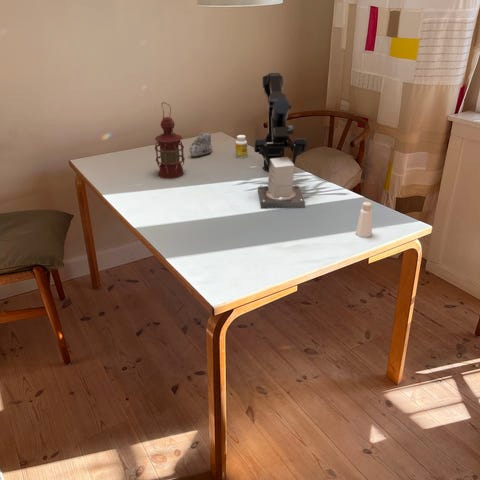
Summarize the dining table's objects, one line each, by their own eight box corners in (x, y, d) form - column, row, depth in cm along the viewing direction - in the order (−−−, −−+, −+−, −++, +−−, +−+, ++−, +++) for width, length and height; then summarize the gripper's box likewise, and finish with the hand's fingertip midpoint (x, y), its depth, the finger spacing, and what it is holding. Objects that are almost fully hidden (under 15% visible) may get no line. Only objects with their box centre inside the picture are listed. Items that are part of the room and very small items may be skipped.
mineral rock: (191, 159, 238) (189, 138, 233) (183, 152, 247) (182, 131, 242) (217, 155, 243) (216, 134, 238) (209, 149, 251) (208, 128, 247)
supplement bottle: (240, 153, 244) (239, 133, 240) (249, 155, 241) (249, 135, 237) (233, 156, 240) (233, 136, 236) (242, 159, 238) (242, 138, 233)
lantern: (190, 175, 220) (186, 103, 206) (165, 181, 214) (158, 108, 200) (177, 167, 229) (172, 97, 215) (151, 172, 223) (145, 102, 209)
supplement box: (285, 186, 199) (288, 156, 192) (292, 196, 193) (295, 165, 186) (267, 188, 198) (269, 158, 191) (273, 198, 192) (275, 166, 185)
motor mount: (257, 191, 204) (257, 185, 202) (298, 190, 204) (299, 184, 203) (260, 208, 189) (260, 201, 188) (304, 207, 190) (305, 200, 189)
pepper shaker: (360, 228, 174) (363, 198, 169) (375, 233, 171) (378, 202, 166) (352, 234, 171) (355, 203, 165) (367, 239, 168) (371, 208, 162)
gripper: (254, 117, 186) (256, 157, 181) (307, 116, 186) (310, 156, 182) (253, 132, 197) (255, 170, 192) (303, 131, 197) (305, 169, 192)
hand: (281, 166), depth 189 cm, fingers open, 8 cm apart
